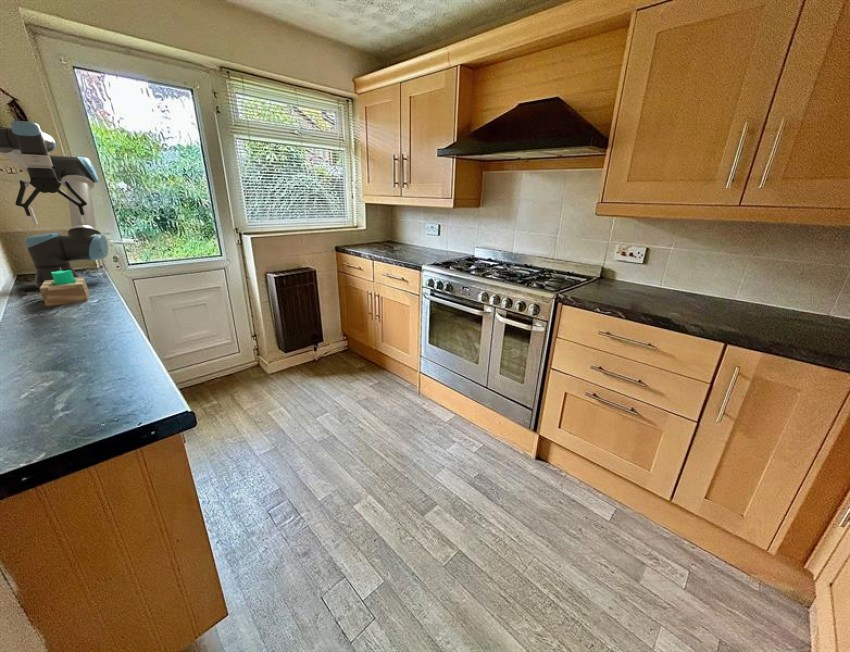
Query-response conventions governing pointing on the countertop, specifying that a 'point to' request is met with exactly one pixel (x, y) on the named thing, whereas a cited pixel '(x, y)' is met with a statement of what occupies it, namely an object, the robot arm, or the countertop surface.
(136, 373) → the countertop surface
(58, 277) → the candle
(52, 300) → the box
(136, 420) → the countertop surface
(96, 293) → the countertop surface
